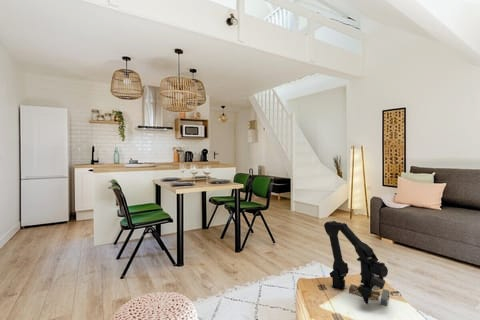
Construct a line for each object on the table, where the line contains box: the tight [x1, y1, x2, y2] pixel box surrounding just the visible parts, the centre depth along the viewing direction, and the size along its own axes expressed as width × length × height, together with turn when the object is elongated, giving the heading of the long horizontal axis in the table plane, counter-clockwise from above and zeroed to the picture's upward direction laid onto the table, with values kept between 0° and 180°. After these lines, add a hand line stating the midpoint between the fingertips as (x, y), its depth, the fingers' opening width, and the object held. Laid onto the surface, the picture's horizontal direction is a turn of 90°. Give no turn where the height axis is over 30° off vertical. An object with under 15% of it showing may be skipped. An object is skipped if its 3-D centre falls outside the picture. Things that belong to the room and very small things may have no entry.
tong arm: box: [348, 285, 380, 302], centre depth 144 cm, size 15×2×4 cm, turn 54°
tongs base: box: [348, 283, 381, 298], centre depth 146 cm, size 15×7×2 cm, turn 55°
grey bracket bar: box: [380, 288, 390, 307], centre depth 139 cm, size 3×12×3 cm, turn 145°
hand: (368, 300), depth 138 cm, fingers open, 8 cm apart
